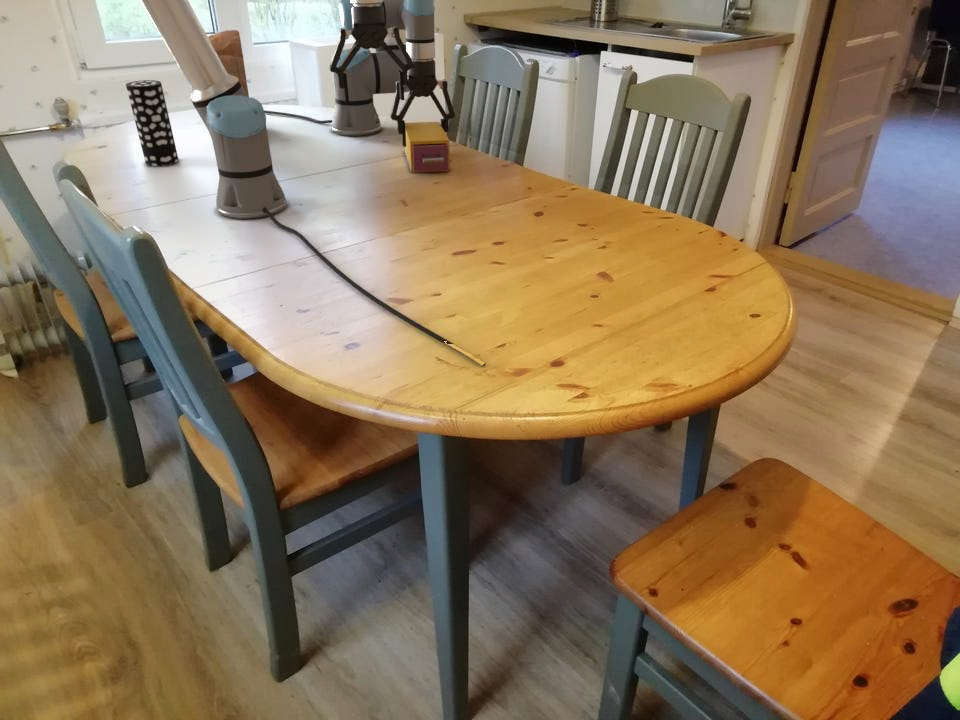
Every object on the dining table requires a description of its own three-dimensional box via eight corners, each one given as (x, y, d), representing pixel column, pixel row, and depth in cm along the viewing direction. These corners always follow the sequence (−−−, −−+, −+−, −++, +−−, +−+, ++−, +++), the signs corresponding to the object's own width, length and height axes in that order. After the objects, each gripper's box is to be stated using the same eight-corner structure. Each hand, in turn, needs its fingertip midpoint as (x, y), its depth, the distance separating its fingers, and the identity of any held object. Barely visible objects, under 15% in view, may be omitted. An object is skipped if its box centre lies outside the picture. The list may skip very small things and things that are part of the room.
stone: (257, 139, 205) (240, 35, 190) (217, 142, 202) (197, 37, 187) (254, 125, 222) (238, 28, 208) (217, 127, 219) (198, 30, 205)
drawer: (451, 176, 176) (451, 151, 173) (416, 177, 175) (415, 153, 171) (439, 150, 196) (438, 127, 192) (407, 151, 194) (406, 129, 191)
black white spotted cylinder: (184, 157, 190) (167, 80, 179) (169, 166, 183) (151, 87, 172) (155, 156, 190) (136, 79, 179) (139, 165, 183) (119, 86, 172)
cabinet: (449, 170, 183) (449, 139, 178) (411, 172, 181) (410, 141, 177) (439, 150, 199) (439, 121, 194) (404, 152, 197) (403, 122, 193)
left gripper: (417, 1, 165) (421, 94, 176) (311, 4, 159) (322, 100, 171) (423, 4, 158) (427, 101, 170) (313, 7, 153) (324, 107, 165)
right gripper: (461, 55, 186) (461, 139, 198) (376, 57, 182) (382, 142, 194) (465, 60, 179) (465, 146, 191) (378, 62, 176) (383, 150, 188)
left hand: (374, 100), depth 170 cm, fingers open, 13 cm apart
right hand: (423, 144), depth 193 cm, fingers closed on cabinet, 10 cm apart
